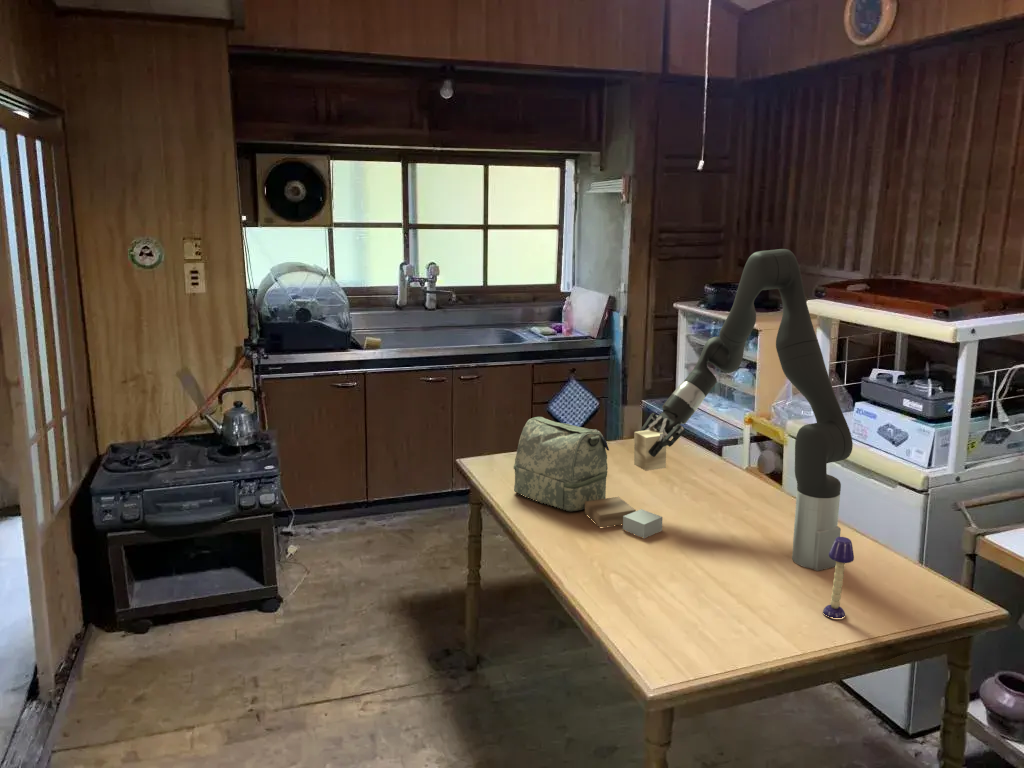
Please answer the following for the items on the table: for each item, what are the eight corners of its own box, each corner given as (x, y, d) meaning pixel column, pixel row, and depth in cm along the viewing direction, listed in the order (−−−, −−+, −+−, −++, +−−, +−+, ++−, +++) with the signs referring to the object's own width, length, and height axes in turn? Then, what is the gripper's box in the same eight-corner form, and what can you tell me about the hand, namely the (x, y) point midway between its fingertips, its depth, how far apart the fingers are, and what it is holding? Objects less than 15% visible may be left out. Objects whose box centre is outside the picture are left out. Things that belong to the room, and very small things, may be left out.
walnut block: (635, 524, 208) (635, 509, 207) (600, 529, 205) (600, 515, 204) (618, 510, 218) (618, 496, 217) (584, 515, 215) (584, 501, 214)
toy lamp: (842, 609, 164) (849, 533, 160) (852, 621, 160) (859, 543, 156) (819, 610, 164) (825, 534, 160) (828, 621, 159) (835, 544, 155)
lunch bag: (618, 501, 223) (619, 426, 218) (572, 519, 211) (572, 440, 206) (552, 478, 242) (552, 408, 237) (507, 493, 230) (506, 420, 225)
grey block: (662, 531, 203) (662, 516, 202) (643, 539, 199) (644, 524, 198) (641, 523, 209) (641, 509, 208) (622, 530, 204) (623, 516, 203)
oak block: (665, 467, 210) (666, 434, 208) (645, 471, 207) (646, 437, 205) (653, 461, 215) (654, 429, 213) (634, 464, 213) (634, 431, 211)
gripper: (660, 388, 216) (622, 435, 215) (691, 399, 203) (649, 450, 202) (677, 404, 219) (639, 452, 218) (708, 417, 206) (667, 467, 205)
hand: (644, 451), depth 210 cm, fingers closed on oak block, 6 cm apart
